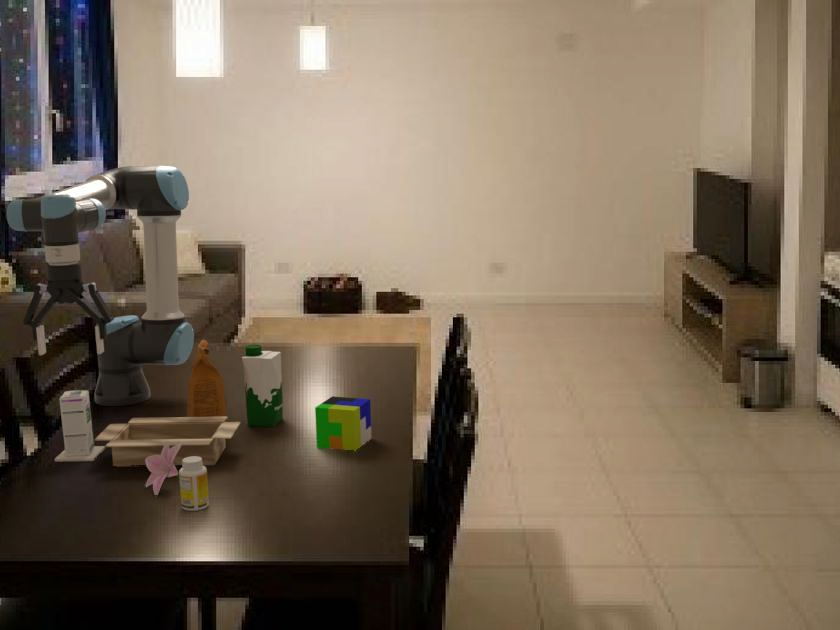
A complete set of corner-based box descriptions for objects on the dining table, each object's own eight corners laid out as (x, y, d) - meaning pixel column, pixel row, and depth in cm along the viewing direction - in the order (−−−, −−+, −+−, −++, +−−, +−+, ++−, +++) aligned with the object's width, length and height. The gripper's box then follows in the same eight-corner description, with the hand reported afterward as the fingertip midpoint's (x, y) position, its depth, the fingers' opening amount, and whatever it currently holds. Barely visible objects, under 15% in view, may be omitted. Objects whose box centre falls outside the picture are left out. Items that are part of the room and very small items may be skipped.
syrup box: (90, 455, 248) (85, 395, 246) (64, 457, 248) (58, 397, 245) (94, 447, 254) (89, 389, 251) (69, 449, 253) (63, 390, 250)
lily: (149, 481, 235) (129, 451, 230) (198, 457, 236) (178, 427, 231) (154, 515, 225) (132, 484, 220) (204, 491, 226) (184, 459, 221)
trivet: (68, 449, 255) (67, 446, 255) (105, 448, 255) (105, 446, 255) (54, 461, 247) (54, 459, 246) (93, 460, 246) (93, 458, 246)
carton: (118, 442, 259) (116, 418, 258) (245, 441, 259) (244, 416, 257) (90, 472, 238) (87, 446, 237) (228, 470, 238) (226, 443, 236)
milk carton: (254, 416, 279) (250, 342, 275) (287, 417, 277) (284, 343, 273) (242, 426, 270) (238, 350, 266) (276, 428, 268) (272, 351, 265)
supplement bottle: (209, 500, 220) (206, 453, 218) (209, 510, 215) (206, 462, 213) (181, 503, 219) (178, 455, 217) (180, 513, 214) (177, 464, 212)
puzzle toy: (371, 438, 258) (370, 399, 257) (355, 451, 249) (354, 410, 247) (333, 435, 262) (332, 396, 260) (316, 448, 252) (315, 407, 250)
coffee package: (228, 419, 277) (223, 337, 272) (227, 433, 265) (222, 347, 260) (189, 422, 275) (183, 339, 271) (187, 436, 263) (181, 350, 259)
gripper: (2, 266, 239) (11, 358, 243) (112, 264, 238) (120, 356, 242) (15, 261, 246) (24, 350, 250) (122, 259, 245) (129, 348, 250)
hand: (71, 353), depth 246 cm, fingers open, 13 cm apart
